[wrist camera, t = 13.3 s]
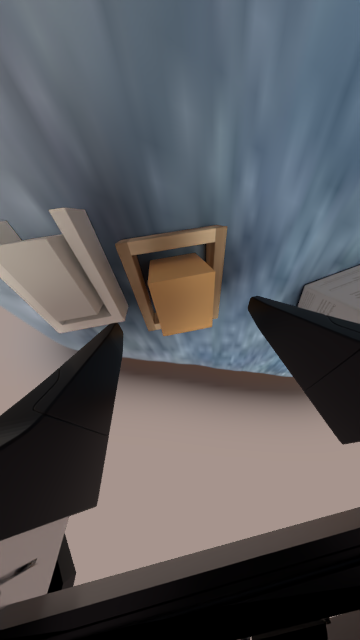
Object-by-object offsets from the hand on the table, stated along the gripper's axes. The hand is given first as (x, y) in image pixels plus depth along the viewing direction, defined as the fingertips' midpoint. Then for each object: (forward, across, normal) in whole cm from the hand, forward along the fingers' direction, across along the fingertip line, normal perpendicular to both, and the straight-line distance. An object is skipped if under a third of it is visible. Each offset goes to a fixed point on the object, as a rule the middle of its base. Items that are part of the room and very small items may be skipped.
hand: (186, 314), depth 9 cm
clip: (+5, +8, -3) cm, 10 cm away
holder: (+5, 0, 0) cm, 5 cm away
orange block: (+6, 0, 0) cm, 6 cm away
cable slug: (+6, +8, -3) cm, 10 cm away
